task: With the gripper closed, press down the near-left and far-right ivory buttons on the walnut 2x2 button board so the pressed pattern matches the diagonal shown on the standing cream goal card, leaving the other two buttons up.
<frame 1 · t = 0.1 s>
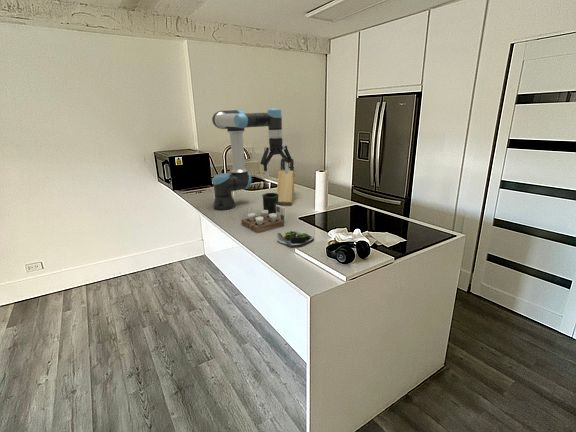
hand: (277, 175, 182), 28 cm above the worktop, fingers open, 13 cm apart
board: (262, 225, 183), on the worktop
knife block: (286, 199, 236), on the worktop
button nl: (264, 214, 188), point 4 cm above the worktop, slide at 0.0 cm
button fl: (273, 218, 181), point 4 cm above the worktop, slide at 0.0 cm
goal card: (280, 220, 190), on the worktop
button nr: (251, 217, 183), point 4 cm above the worktop, slide at 0.0 cm
mug: (270, 212, 208), on the worktop
salad plate: (295, 241, 160), on the worktop
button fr: (259, 221, 176), point 4 cm above the worktop, slide at 0.0 cm
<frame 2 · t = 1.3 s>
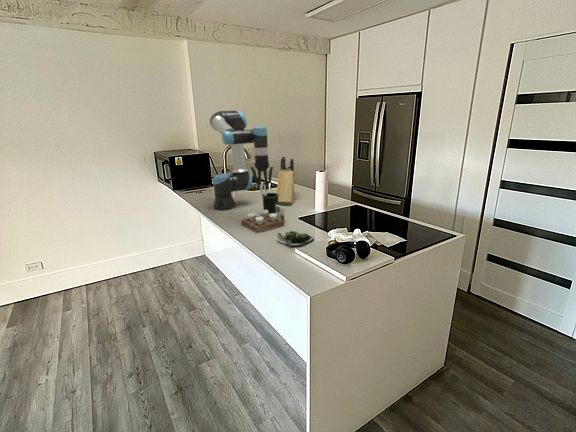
hand: (263, 195, 184), 16 cm above the worktop, fingers closed
nothing on the worktop moved.
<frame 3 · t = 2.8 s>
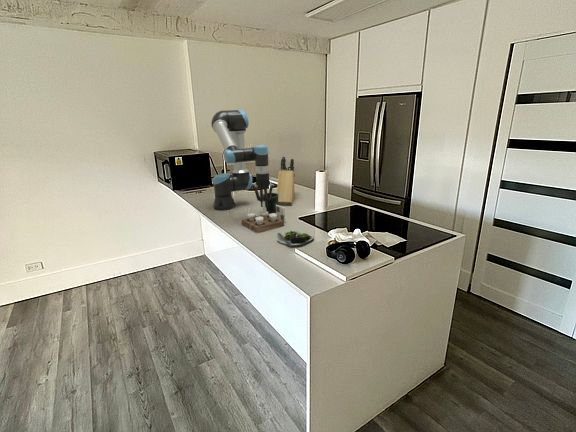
hand: (264, 212, 187), 6 cm above the worktop, fingers closed
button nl: (264, 216, 188), point 3 cm above the worktop, slide at 1.0 cm, touching gripper
everything else where it was.
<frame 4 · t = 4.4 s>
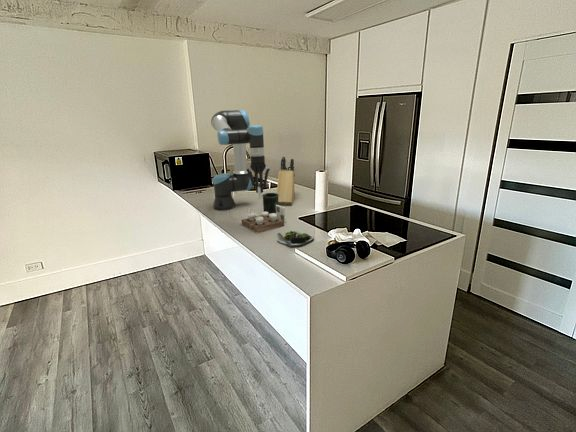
hand: (260, 198, 174), 17 cm above the worktop, fingers closed
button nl: (264, 216, 188), point 3 cm above the worktop, slide at 1.1 cm
everything else where it was.
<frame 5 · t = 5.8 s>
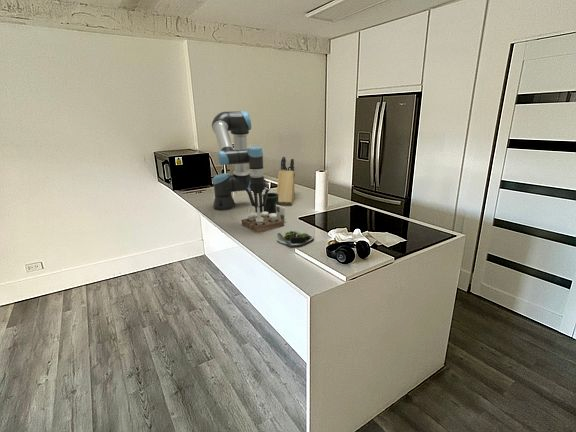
hand: (259, 218, 175), 7 cm above the worktop, fingers closed
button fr: (259, 222, 176), point 4 cm above the worktop, slide at 0.4 cm, touching gripper
everything else where it was.
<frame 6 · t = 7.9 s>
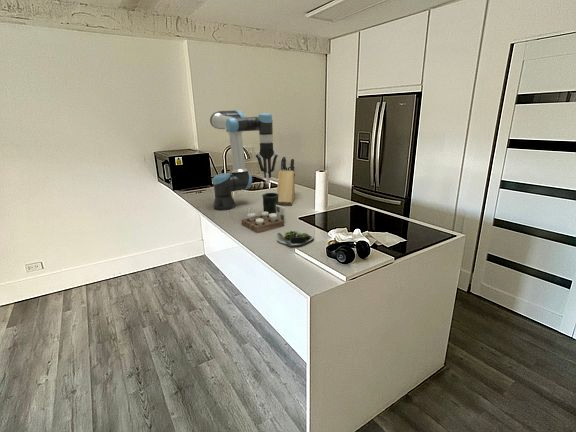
hand: (268, 183, 184), 23 cm above the worktop, fingers closed
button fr: (259, 223, 176), point 3 cm above the worktop, slide at 1.1 cm
everything else where it was.
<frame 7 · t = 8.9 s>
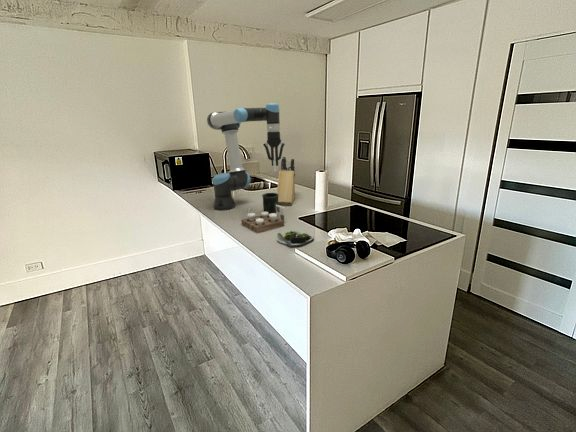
hand: (275, 171, 191), 28 cm above the worktop, fingers closed
nothing on the worktop moved.
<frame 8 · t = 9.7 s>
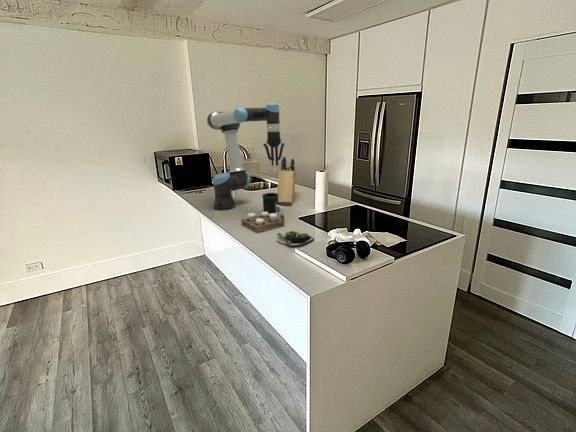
hand: (275, 171, 191), 28 cm above the worktop, fingers closed
nothing on the worktop moved.
at the end: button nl slide at 1.1 cm; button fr slide at 1.1 cm; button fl slide at 0.0 cm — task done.
